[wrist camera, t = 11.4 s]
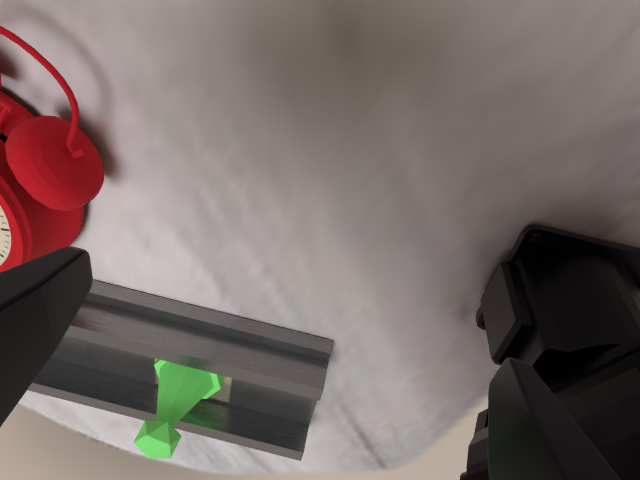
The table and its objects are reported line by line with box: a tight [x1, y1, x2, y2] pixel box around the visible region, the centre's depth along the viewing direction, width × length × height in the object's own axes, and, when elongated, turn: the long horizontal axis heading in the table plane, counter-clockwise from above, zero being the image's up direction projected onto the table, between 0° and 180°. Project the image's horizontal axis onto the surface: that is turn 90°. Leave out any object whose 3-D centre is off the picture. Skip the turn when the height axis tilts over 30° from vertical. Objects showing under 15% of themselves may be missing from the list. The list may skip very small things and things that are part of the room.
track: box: [27, 280, 333, 461], centre depth 29 cm, size 24×9×3 cm, turn 79°
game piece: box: [134, 359, 224, 458], centre depth 27 cm, size 4×4×6 cm
